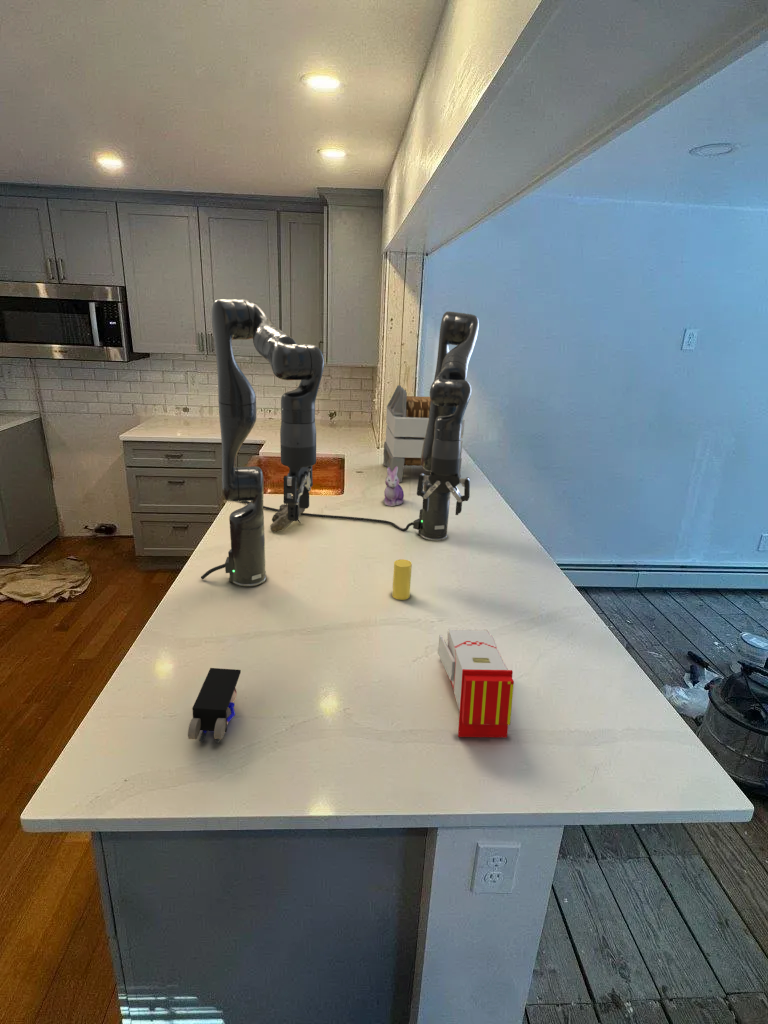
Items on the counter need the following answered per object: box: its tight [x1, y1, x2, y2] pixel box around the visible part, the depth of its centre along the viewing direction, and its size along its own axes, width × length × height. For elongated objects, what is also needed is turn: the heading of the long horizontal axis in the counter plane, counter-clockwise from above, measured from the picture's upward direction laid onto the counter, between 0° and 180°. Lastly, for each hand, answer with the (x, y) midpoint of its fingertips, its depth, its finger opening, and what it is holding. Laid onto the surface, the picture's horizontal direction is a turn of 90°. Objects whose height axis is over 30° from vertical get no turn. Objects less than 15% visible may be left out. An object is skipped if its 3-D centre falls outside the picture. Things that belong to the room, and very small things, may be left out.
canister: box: [391, 558, 413, 601], centre depth 155 cm, size 5×5×10 cm
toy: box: [437, 628, 515, 738], centre depth 117 cm, size 12×13×30 cm
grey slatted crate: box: [383, 384, 465, 483], centre depth 268 cm, size 34×33×41 cm
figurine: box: [383, 466, 405, 507], centre depth 229 cm, size 9×10×15 cm
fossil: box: [270, 495, 306, 533], centre depth 203 cm, size 22×10×15 cm
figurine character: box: [187, 667, 241, 744], centre depth 105 cm, size 7×8×15 cm
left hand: (299, 513), depth 125 cm, fingers open, 8 cm apart
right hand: (441, 512), depth 157 cm, fingers open, 8 cm apart
